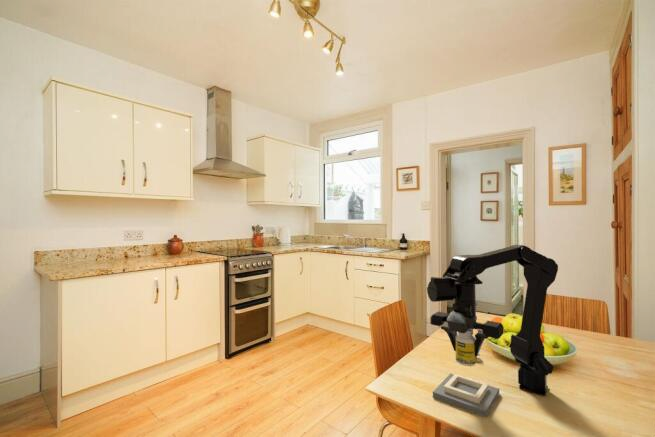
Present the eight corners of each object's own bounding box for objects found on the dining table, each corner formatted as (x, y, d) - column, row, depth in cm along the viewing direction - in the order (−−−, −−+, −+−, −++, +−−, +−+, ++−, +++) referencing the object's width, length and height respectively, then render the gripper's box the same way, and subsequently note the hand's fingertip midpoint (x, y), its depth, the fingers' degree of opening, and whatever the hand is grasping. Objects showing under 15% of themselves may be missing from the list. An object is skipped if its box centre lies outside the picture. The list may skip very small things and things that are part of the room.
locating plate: (499, 393, 89) (499, 383, 89) (486, 417, 79) (485, 405, 79) (450, 378, 98) (450, 368, 98) (432, 397, 88) (432, 386, 88)
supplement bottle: (455, 364, 87) (454, 330, 88) (456, 356, 92) (455, 324, 92) (476, 368, 85) (475, 332, 85) (476, 360, 90) (475, 326, 90)
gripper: (422, 300, 89) (423, 354, 89) (493, 311, 77) (494, 374, 76) (437, 293, 97) (438, 342, 97) (503, 302, 85) (504, 359, 85)
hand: (465, 353), depth 89 cm, fingers closed on supplement bottle, 5 cm apart
